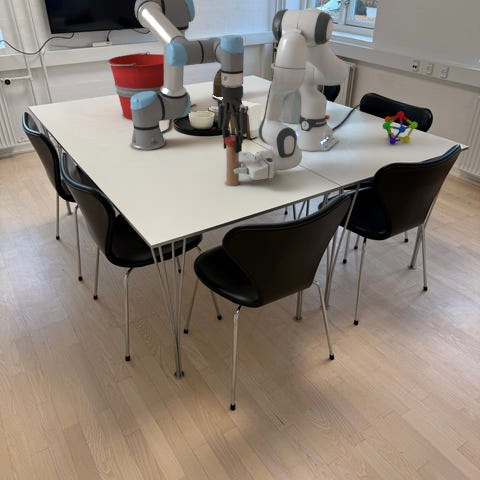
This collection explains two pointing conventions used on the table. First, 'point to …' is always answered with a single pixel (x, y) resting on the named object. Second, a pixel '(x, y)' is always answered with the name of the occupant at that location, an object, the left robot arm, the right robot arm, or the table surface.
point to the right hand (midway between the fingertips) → (230, 168)
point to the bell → (217, 84)
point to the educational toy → (398, 128)
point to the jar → (232, 165)
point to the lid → (230, 140)
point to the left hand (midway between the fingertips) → (232, 149)
